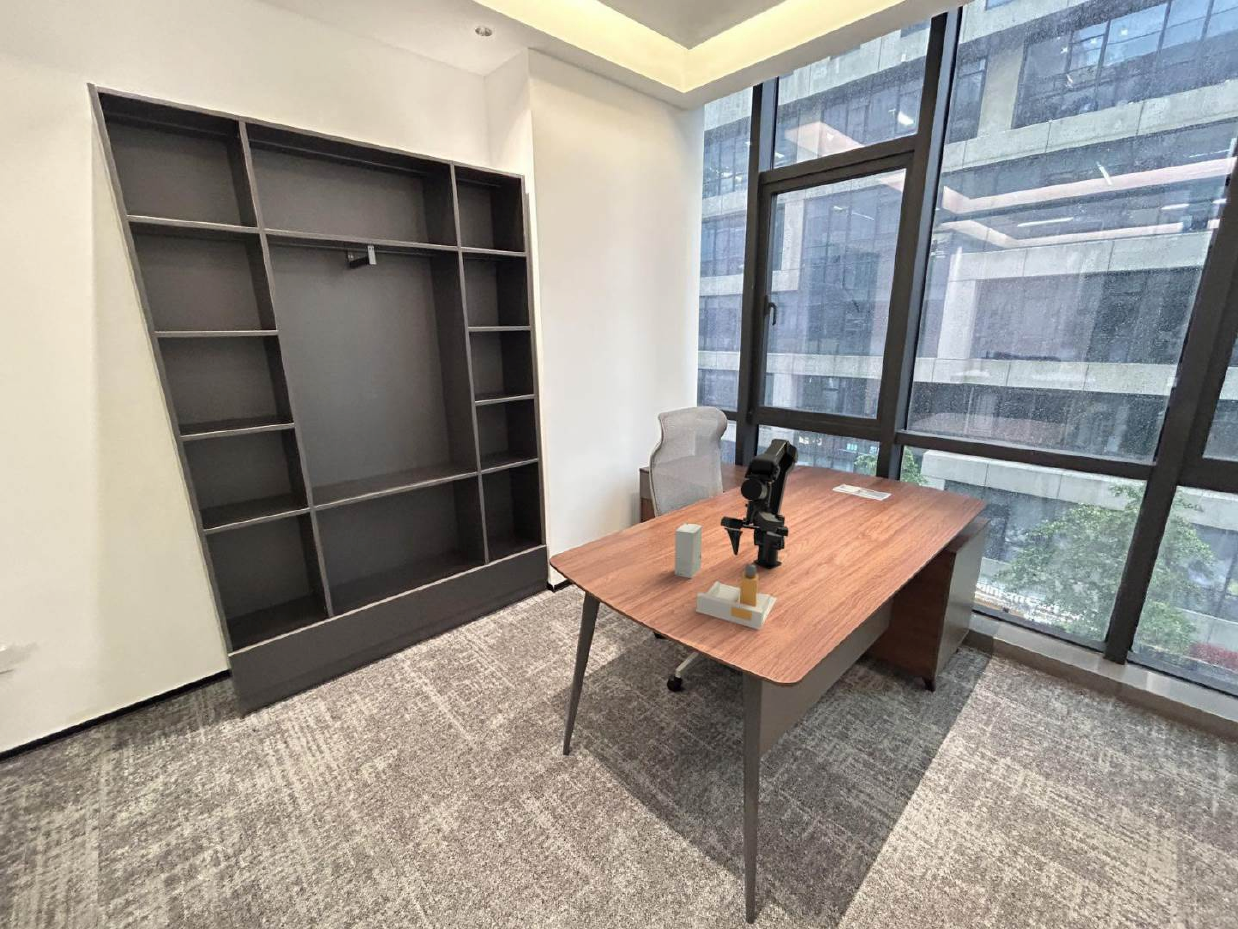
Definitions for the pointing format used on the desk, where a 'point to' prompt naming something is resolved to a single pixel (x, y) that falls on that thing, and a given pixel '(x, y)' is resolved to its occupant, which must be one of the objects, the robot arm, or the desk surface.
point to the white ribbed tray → (734, 605)
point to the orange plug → (749, 586)
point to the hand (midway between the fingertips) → (750, 557)
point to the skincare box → (688, 550)
